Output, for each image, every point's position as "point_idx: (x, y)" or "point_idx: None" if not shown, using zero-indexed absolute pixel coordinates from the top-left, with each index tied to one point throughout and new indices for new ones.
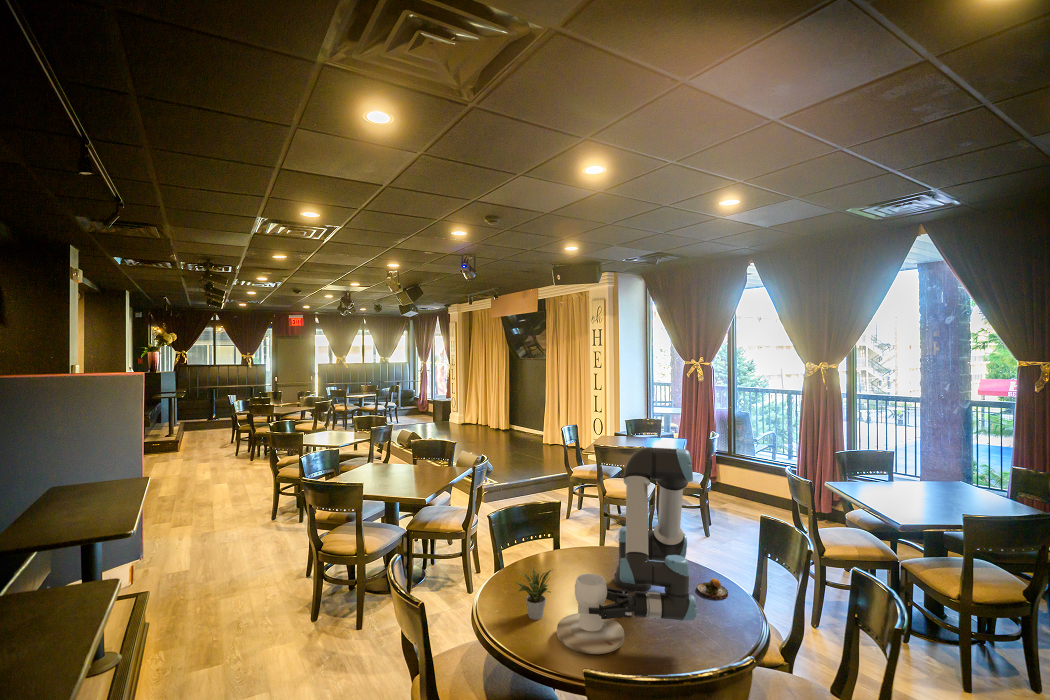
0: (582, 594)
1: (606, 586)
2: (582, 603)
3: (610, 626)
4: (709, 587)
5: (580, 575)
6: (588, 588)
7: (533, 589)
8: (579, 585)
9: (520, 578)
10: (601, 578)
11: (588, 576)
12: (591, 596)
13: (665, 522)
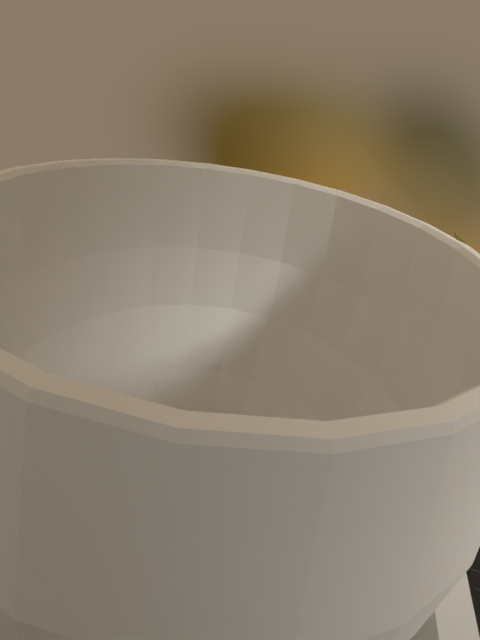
0: (92, 265)
1: (5, 544)
2: (107, 359)
3: None
4: None
5: (387, 213)
6: (27, 202)
7: None
8: (152, 186)
9: (458, 237)
10: (407, 460)
11: (476, 324)
12: None
13: None
